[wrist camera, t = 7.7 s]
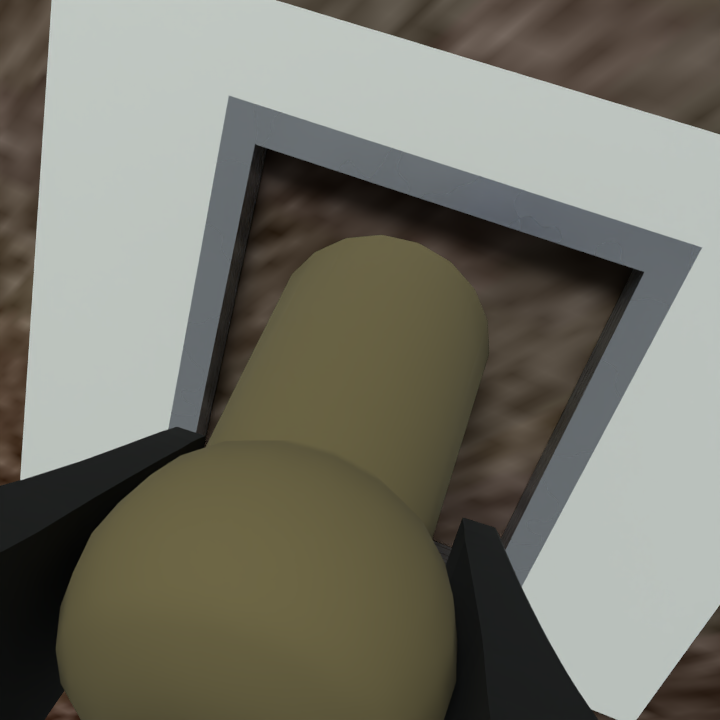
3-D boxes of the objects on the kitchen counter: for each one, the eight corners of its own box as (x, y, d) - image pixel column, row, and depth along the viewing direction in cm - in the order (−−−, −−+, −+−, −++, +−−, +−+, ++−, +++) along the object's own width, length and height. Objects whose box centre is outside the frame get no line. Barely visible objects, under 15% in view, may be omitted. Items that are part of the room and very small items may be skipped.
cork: (396, 466, 18) (286, 940, 8) (237, 348, 17) (-94, 720, 7) (539, 334, 15) (632, 824, 5) (356, 184, 14) (70, 438, 4)
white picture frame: (964, 214, 14) (999, 219, 13) (625, 700, 21) (631, 725, 20) (80, -54, 16) (56, -66, 15) (39, 467, 23) (20, 480, 22)
